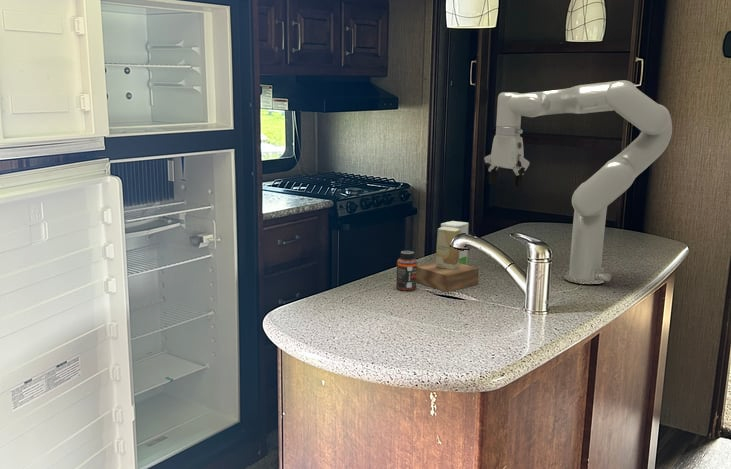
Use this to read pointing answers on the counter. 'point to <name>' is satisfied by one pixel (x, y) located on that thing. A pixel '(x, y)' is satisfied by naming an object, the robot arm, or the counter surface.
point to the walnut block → (447, 276)
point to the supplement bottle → (406, 271)
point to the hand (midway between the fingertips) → (504, 185)
